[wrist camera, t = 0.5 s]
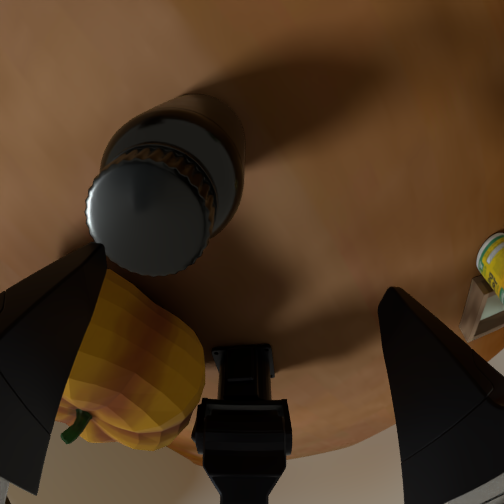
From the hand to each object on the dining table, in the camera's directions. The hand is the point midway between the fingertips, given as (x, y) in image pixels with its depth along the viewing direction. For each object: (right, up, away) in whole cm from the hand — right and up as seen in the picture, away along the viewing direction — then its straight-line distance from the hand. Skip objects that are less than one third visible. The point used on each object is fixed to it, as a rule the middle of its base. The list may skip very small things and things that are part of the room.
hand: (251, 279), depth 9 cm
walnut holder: (+30, -5, +20) cm, 36 cm away
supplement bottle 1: (-4, +9, +11) cm, 15 cm away
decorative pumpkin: (-15, -7, +22) cm, 27 cm away
